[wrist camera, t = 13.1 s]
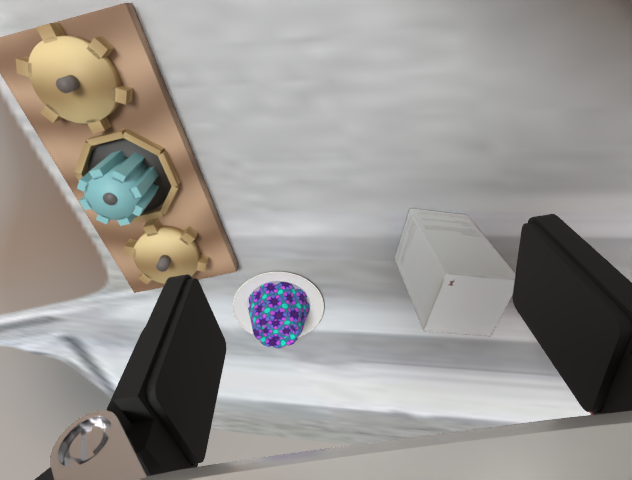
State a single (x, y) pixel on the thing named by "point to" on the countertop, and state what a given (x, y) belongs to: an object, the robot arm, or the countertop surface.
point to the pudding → (278, 308)
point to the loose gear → (118, 188)
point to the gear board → (118, 138)
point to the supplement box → (453, 273)
